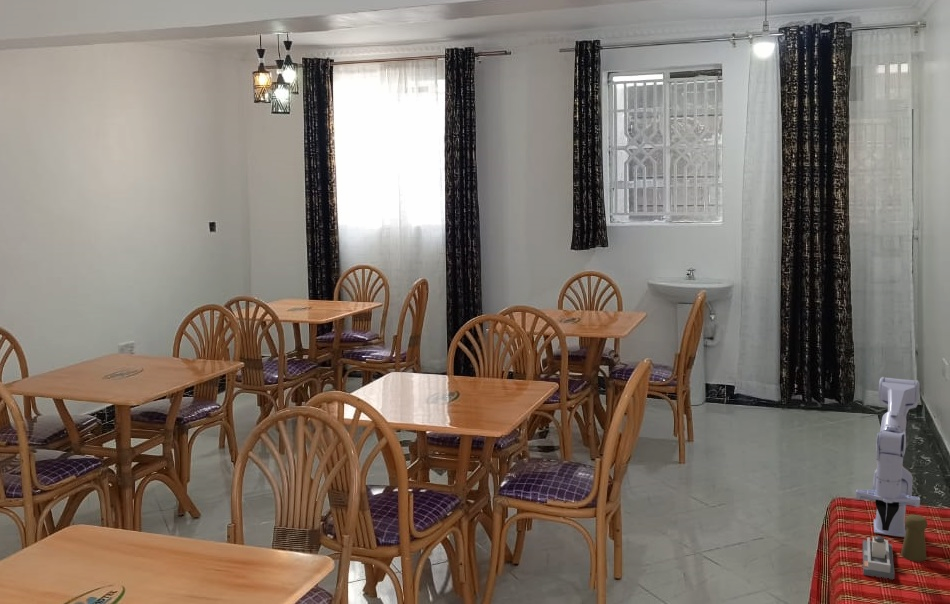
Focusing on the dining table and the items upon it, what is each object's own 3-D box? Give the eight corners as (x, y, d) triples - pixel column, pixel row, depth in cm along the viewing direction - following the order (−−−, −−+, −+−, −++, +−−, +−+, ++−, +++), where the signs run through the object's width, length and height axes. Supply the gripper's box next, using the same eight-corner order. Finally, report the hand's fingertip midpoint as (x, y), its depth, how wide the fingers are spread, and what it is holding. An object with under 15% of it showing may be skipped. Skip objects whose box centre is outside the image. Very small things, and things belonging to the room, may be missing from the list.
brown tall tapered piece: (929, 562, 222) (932, 522, 220) (904, 560, 223) (907, 520, 221) (922, 551, 228) (925, 512, 226) (897, 550, 229) (900, 511, 227)
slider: (871, 551, 224) (872, 534, 224) (884, 553, 223) (885, 536, 223) (871, 556, 222) (872, 539, 221) (884, 558, 221) (885, 541, 220)
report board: (862, 545, 232) (863, 533, 231) (891, 549, 229) (892, 537, 229) (863, 574, 216) (864, 561, 215) (894, 579, 213) (895, 566, 212)
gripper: (857, 479, 215) (854, 530, 217) (922, 487, 209) (918, 539, 211) (857, 470, 221) (854, 519, 223) (920, 477, 215) (916, 528, 218)
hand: (885, 528), depth 218 cm, fingers closed
